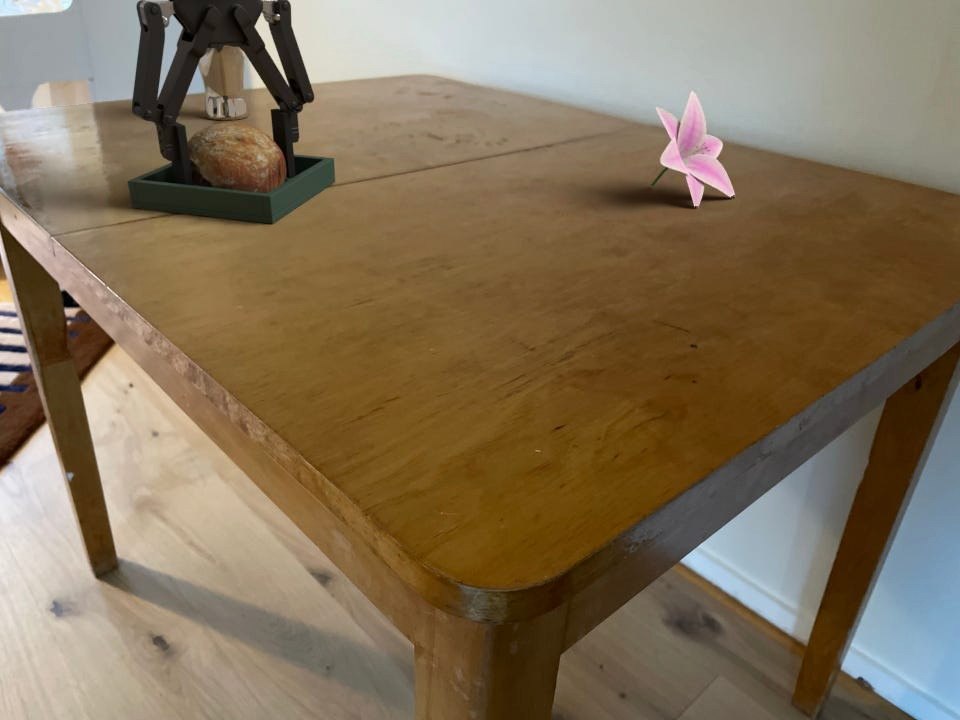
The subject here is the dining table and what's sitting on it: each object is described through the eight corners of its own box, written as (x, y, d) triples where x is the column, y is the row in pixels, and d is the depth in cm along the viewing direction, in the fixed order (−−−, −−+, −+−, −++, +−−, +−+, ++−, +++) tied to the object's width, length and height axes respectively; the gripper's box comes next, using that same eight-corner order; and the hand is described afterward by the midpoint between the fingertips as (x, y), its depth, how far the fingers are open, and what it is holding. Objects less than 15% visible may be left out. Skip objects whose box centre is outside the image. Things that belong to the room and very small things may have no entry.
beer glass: (231, 109, 115) (218, -3, 108) (262, 116, 112) (251, 1, 105) (191, 116, 110) (175, -1, 103) (223, 123, 107) (208, 3, 100)
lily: (632, 219, 79) (691, 144, 73) (598, 148, 86) (648, 74, 80) (718, 243, 85) (780, 175, 78) (679, 174, 92) (733, 106, 85)
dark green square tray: (131, 207, 74) (126, 181, 73) (212, 169, 87) (209, 145, 86) (272, 224, 71) (270, 196, 70) (335, 182, 84) (334, 157, 83)
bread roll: (181, 221, 79) (144, 157, 73) (233, 157, 85) (203, 93, 78) (263, 236, 76) (232, 171, 70) (312, 169, 82) (287, 103, 75)
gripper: (86, -71, 59) (138, 213, 69) (343, -63, 72) (353, 174, 83) (55, -74, 64) (108, 193, 74) (301, -66, 77) (316, 159, 88)
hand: (237, 183), depth 79 cm, fingers closed on bread roll, 10 cm apart
